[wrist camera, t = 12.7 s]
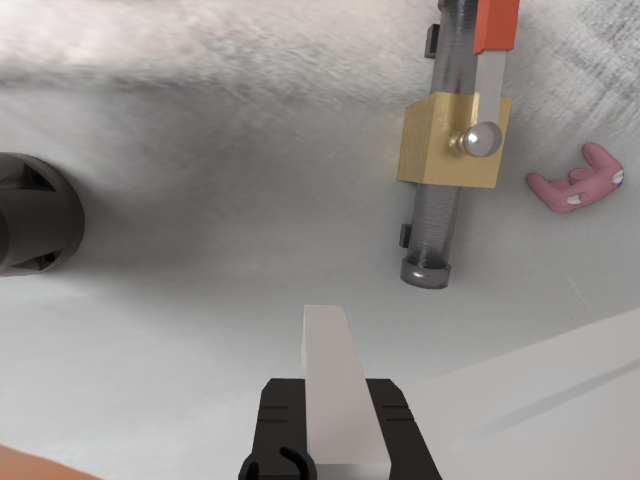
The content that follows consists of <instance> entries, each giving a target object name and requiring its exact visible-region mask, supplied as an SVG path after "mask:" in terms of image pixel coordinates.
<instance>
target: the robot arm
mask: <svg viewBox="0 0 640 480" xmlns="http://www.w3.org/2000/svg"><path fill="white" fill-rule="evenodd" d="M83 232H84V215H83V210H82V207H81V204H80V201H79V199H78V197H77V195H76V193H75V191H74V190H73V188H72V187H71V185H70V184H69V183H68V182H67V181H66V179H65V178H64V177H63V176H62V175H61V174H60V173H58V172H57V171H56V170H55V169H53V168H52V167H51V166H49V165H47V164H46V163H44V162H42V161H40V160H38V159H36V158H33V157H30V156H27V155H24V154H19V153H11V152H0V277H9V276H25V275H32V274H36V273H40V272H43V271H45V270H48V269H50V268H53V267H55V266H57V265H59V264H61V263H63V262H64V261H66V260H67V259H68V258H70V257H71V256H72V255H73V253H74V252H75V251H76V249H77V248H78V246H79V244H80V242H81V240H82V236H83ZM238 480H442V478H441V476H440V474H439V472H438V470H437V468H436V466H435V463H434V461H433V459H432V457H431V455H430V452H429V450H428V448H427V446H426V444H425V442H424V439H423V437H422V435H421V433H420V431H419V428H418V426H417V424H416V422H414V417H413V415H412V413H411V410H410V409H409V406H408V404H407V402H406V399H405V397H404V395H403V393H402V391H401V390H400V389H399V388H398V387H397V386H396V385H395V384H394V383H393V382H392V381H391V380H390V379H365V377H364V373H363V370H362V367H361V364H360V360H359V357H358V354H357V351H356V348H355V344H354V341H353V338H352V335H351V331H350V328H349V325H348V322H347V318H346V315H345V312H344V309H343V306H334V305H305V304H304V320H303V336H302V352H301V379H283V378H271V379H270V381H269V382H268V383H267V385H266V386H265V387H264V389H263V390H262V393H261V399H260V405H259V411H258V418H257V424H256V430H255V436H254V442H253V448H252V453H251V454H250V455H249V456H248V457H247V458H246V460H245V461H244V463H243V465H242V468H241V470H240V473H239V475H238Z"/></svg>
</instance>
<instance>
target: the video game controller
mask: <svg viewBox="0 0 640 480" xmlns="http://www.w3.org/2000/svg"><path fill="white" fill-rule="evenodd" d="M583 154H584V157H585V159H586V160H587V162H588V163H589V165H590V166H591V167H592V169H586V168H577V169H574V170H572V171H571V172H570V175H569V182H570V183H572V184H573V185H571V186H570V183H569V182H568V181H566V180H562V179H558V180H554V181H551V182H550V183H549V182H548V181H546V180H545V179H544V178H543V177H542V176H540V175H538V174H535V173H530V174H529V175H528V176H527V182H528V184H529V186H530V188H531V189H532V191H533V192H534V193H535V194H536V195H537V196H538V197H539V198H540V199H541V200H542V201H544V202H545V203H546V204H547V207H548V208H549V209H551V210H552V211H555V212H569V211H572V210H574V209H576V208H578V207H582V206H585V205H589V204H591V203H594V202H596V201H598V200H600V199H602V198H604V197H606V196H607V195H609V194H610V193H611V192H613V191H614V190H615V189H616V188H618V187H619V186H620V185H621V184H622V181H623V177H624V171H623V168H622V166H621V165H620V163H619V162H617V161H616V160H615V159H614V158H613V157H612V156H611V155H610V154H609V153H608V152H607V151H606V150H605V149H604V148H602V147H601V146H600V145H598V144H596V143H592V142H591V143H586V144H585V145H584V146H583Z"/></svg>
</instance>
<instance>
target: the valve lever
mask: <svg viewBox="0 0 640 480" xmlns="http://www.w3.org/2000/svg"><path fill="white" fill-rule="evenodd" d="M519 1H520V0H479V1H478V11H477V20H476V30H475V39H474V49H473V55H478V63H477V72H476V81H475V91H474V100H473V109H472V118H471V127H469V128H468V129H467V131H466V132H465V134H464V136H463V142H462V143H463V148H464V151H465V152H466V153H467V154H468V155H469V156H471V157H474V158H482V157H489V156H491V155H493V154H494V153H496V152H497V150H498V149H499V148H500V146H501V143H502V132H501V129H500V127H499V126H498V125H497V124H498V116H499V108H500V100H501V92H502V84H503V77H504V69H505V61H506V53H507V52H508V51H510V50H512V49H513V46H514V39H515V31H516V23H517V16H518V8H519Z"/></svg>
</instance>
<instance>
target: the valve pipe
mask: <svg viewBox="0 0 640 480" xmlns="http://www.w3.org/2000/svg"><path fill="white" fill-rule="evenodd" d="M478 1H479V0H439V1H438V8H439V10H440V11H442V13H441V20H440V25H439V24H433V25H432V26H431V27H430V28H429V29H428V34H427V41H426V49H425V56H424V57H431V58H435V63H434V70H433V77H432V84H431V91H430V95H429V96H428V97H426V98H424V99H422V100H420V101H418V102H416V103H414V104H412V105H410V106H409V107H407V108H406V112H405V120H404V128H403V136H402V144H401V152H400V160H399V168H398V176H397V180H403V181H410V182H416V183H417V190H416V197H415V204H414V211H413V218H412V225H411V224H402V228H401V235H400V243H399V245H400V246H401V247H403V248H408V254H407V257H405V258H403V261H402V269H401V276H400V278H401V279H402V280H403V281H404V282H406V283H408V284H410V285H413V286H416V287H420V288H425V289H443V288H446V287H447V286H448V281H449V276H450V270H451V266H450V265H449V264H447V262H448V257H449V251H450V245H451V239H452V234H453V228H454V222H455V216H456V211H457V205H458V199H459V193H460V188H461V186H466V187H481V188H495V186H496V181H497V176H498V171H499V166H500V161H501V156H502V151H503V146H504V141H505V136H506V131H507V126H508V121H509V116H510V111H511V106H512V101H513V99H510V98H501V100H500V108H499V116H498V124H497V125H498V126H499V127H500V129H501V132H502V143H501V146H500V148H499V149H498V150H497V152H496V153H494V154H493V155H491V156H489V157H482V158H474V157H471V156H469V155H468V154H467V153H466V152H465V151H464V148H463V143H462V142H463V136H464V134H465V132H466V131H467V129H468V128H469V127H471V118H472V109H473V100H474V91H475V81H476V72H477V63H478V55H473V49H474V39H475V30H476V20H477V11H478Z"/></svg>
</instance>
